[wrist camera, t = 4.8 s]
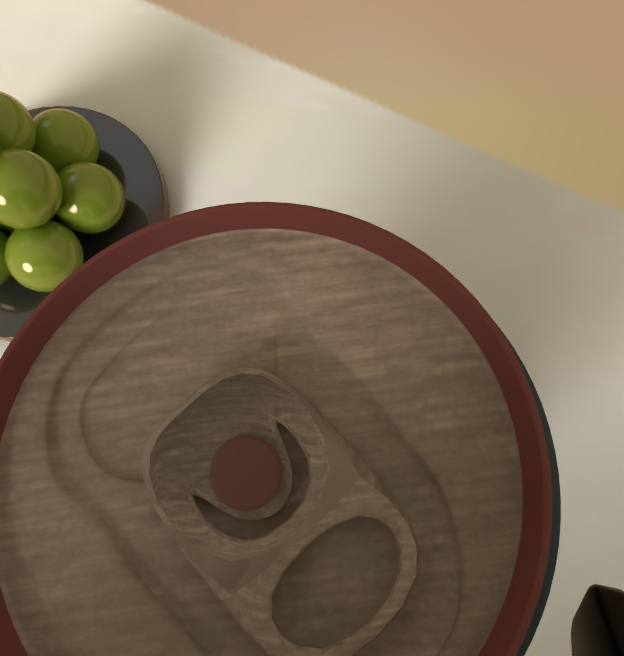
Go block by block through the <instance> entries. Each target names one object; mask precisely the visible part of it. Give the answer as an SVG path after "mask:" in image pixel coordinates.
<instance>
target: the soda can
mask: <svg viewBox="0 0 624 656" xmlns="http://www.w3.org/2000/svg"><path fill="white" fill-rule="evenodd" d="M560 522H561V498H560V485H559V473H558V466H557V460H556V454H555V448H554V444H553V440H552V436H551V432H550V428H549V425H548V422H547V418H546V415H545V412H544V409H543V406H542V404H541V401H540V399H539V396H538V394H537V391H536V389H535V387H534V384H533V382H532V380H531V378H530V376H529V374H528V372H527V370H526V368H525V366H524V364H523V363H522V361H521V359H520V358H519V356H518V354H517V353H516V351H515V349H514V348H513V346H512V345H511V343H510V342H509V340H508V339H507V338H506V336H505V335H504V333H503V332H502V331H501V329H500V328H499V327H498V325H497V324H496V323H495V322H494V321H493V319H492V318H491V317H490V315H489V314H488V313H487V311H486V310H485V309H484V308H483V307H482V305H481V304H480V303H479V302H478V301H477V299H476V298H475V297H474V296H473V295H472V294H471V293H470V292H469V291H468V290H467V289H466V288H465V287H464V286H463V285H462V284H461V283H460V282H459V281H458V280H457V279H456V278H455V277H454V276H453V275H452V274H451V273H449V272H448V271H447V270H446V269H445V268H444V267H443V266H441V265H440V264H439V263H437V262H436V261H435V260H433V259H432V258H431V257H430V256H428V255H427V254H426V253H424V252H423V251H421V250H419V249H418V248H416V247H415V246H413V245H412V244H410V243H409V242H407V241H405V240H403V239H402V238H400V237H398V236H396V235H394V234H392V233H391V232H389V231H387V230H384V229H382V228H380V227H378V226H376V225H373V224H371V223H369V222H366V221H363V220H360V219H358V218H355V217H352V216H349V215H346V214H342V213H339V212H335V211H332V210H328V209H323V208H318V207H313V206H307V205H300V204H292V203H278V202H246V203H235V204H225V205H219V206H213V207H207V208H203V209H198V210H194V211H190V212H186V213H183V214H180V215H176V216H173V217H170V218H167V219H164V220H162V221H159V222H157V223H154V224H151V225H149V226H147V227H145V228H142V229H140V230H138V231H136V232H134V233H132V234H130V235H128V236H126V237H124V238H122V239H121V240H119V241H117V242H115V243H113V244H112V245H110V246H109V247H107V248H106V249H104V250H102V251H101V252H99V253H98V254H96V255H95V256H93V257H92V258H91V259H89V260H88V261H87V262H85V263H84V264H83V265H81V266H80V267H79V268H77V269H76V270H75V271H74V272H73V273H72V274H70V275H69V276H68V277H67V278H66V279H65V280H63V281H62V282H61V283H60V284H59V285H58V286H57V287H56V288H55V289H54V290H53V291H52V292H51V293H50V294H49V295H48V296H47V297H46V298H45V299H44V300H43V301H42V303H41V304H40V305H39V306H38V307H37V308H36V309H35V310H34V312H33V313H32V314H31V315H30V316H29V318H28V319H27V320H26V322H25V323H24V324H23V326H22V327H21V328H20V329H19V331H18V332H17V334H16V335H15V337H14V338H13V340H12V341H11V343H10V344H9V346H8V347H7V349H6V350H5V352H4V354H3V356H2V357H1V359H0V656H524V655H525V653H526V651H527V649H528V647H529V645H530V643H531V641H532V639H533V637H534V634H535V632H536V629H537V627H538V625H539V622H540V620H541V617H542V614H543V611H544V608H545V605H546V602H547V599H548V596H549V593H550V588H551V584H552V580H553V576H554V572H555V566H556V560H557V553H558V547H559V536H560Z"/></svg>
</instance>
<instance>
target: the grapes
mask: <svg viewBox="0 0 624 656" xmlns="http://www.w3.org/2000/svg"><path fill="white" fill-rule="evenodd" d="M167 218H169V202H168V193H167V189H166V185H165V181H164V178H163V175H162V173H161V171H160V168H159V166H158V164H157V163H156V161H155V160H154V158H153V156H152V155H151V153H150V152H149V150H148V148H147V147H146V145H145V144H144V143H143V142H142V141H141V140H140V138H139V137H138V136H137V135H136V134H135V133H133V132H132V131H131V130H130V129H129V128H128V127H126V126H125V125H123V124H122V123H120V122H118V121H117V120H115V119H113V118H111V117H109V116H107V115H104V114H102V113H99V112H96V111H92V110H89V109H84V108H78V107H67V106H54V107H42V108H37V109H32V110H27V109H26V108H25V106H24V105H23V104H22V103H20V102H19V101H18V100H17V99H15V98H14V97H12V96H10V95H8V94H6V93H4V92H1V91H0V339H1V340H6V341H10V342H11V341H12V340H13V338H14V337H15V335H16V334H17V332H18V331H19V329H20V328H21V327H22V326H23V324H24V323H25V322H26V320H27V319H28V318H29V316H30V315H31V314H32V313H33V312H34V310H35V309H36V308H37V307H38V306H39V305H40V304H41V303H42V301H43V300H44V299H45V298H46V297H47V296H48V295H49V294H50V293H51V292H52V291H53V290H54V289H55V288H56V287H57V286H58V285H59V284H60V283H61V282H62V281H63V280H65V279H66V278H67V277H68V276H69V275H70V274H72V273H73V272H74V271H75V270H76V269H77V268H79V267H80V266H81V265H83V264H84V263H85V262H87V261H88V260H89V259H91V258H92V257H93V256H95V255H96V254H98V253H99V252H101V251H102V250H104V249H106V248H107V247H109V246H110V245H112V244H113V243H115V242H117V241H119V240H121V239H122V238H124V237H126V236H128V235H130V234H132V233H134V232H136V231H138V230H140V229H142V228H145V227H147V226H149V225H151V224H154V223H157V222H159V221H162V220H164V219H167Z"/></svg>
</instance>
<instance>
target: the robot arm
mask: <svg viewBox="0 0 624 656" xmlns="http://www.w3.org/2000/svg"><path fill="white" fill-rule="evenodd" d="M571 644H572V656H624V592H623V591H622V590H620V589H616V588H612V587H607V586H603V585H598V584H594V585H592V586H590V587H589V589H588V590H587V592H586V594H585V596H584V598H583V600H582V602H581V604H580V606H579V608H578V610H577V612H576V614H575V616H574V619H573V622H572V627H571Z"/></svg>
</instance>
